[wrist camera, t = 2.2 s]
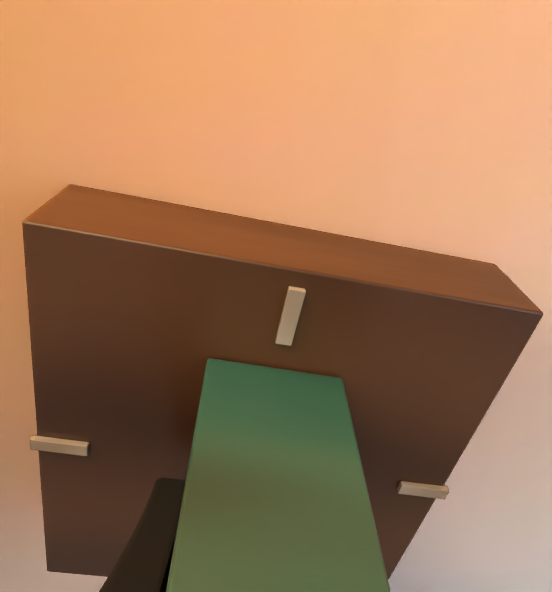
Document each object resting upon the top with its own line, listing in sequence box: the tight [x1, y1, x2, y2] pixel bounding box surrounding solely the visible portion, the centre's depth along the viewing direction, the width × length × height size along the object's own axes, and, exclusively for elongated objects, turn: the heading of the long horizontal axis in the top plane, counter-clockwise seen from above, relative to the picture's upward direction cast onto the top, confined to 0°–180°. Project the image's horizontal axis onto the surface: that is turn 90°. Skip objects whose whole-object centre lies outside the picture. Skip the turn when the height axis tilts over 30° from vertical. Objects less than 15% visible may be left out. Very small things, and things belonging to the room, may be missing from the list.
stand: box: [22, 185, 543, 579], centre depth 13 cm, size 12×11×3 cm
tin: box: [166, 358, 390, 592], centre depth 10 cm, size 7×3×6 cm, turn 168°
